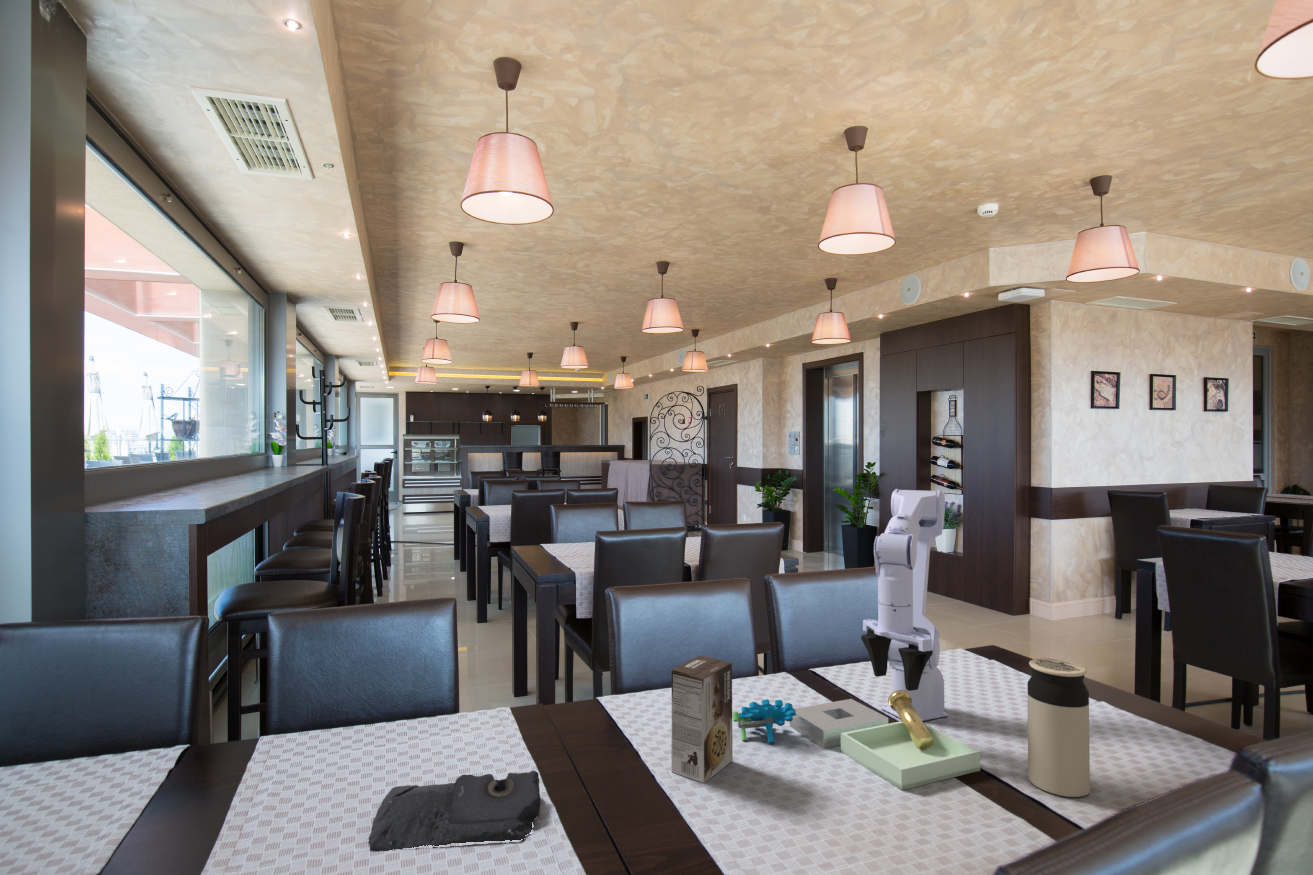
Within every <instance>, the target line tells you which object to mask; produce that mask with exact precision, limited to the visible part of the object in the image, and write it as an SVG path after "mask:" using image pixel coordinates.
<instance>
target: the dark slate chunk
mask: <svg viewBox="0 0 1313 875" xmlns="http://www.w3.org/2000/svg"><path fill="white" fill-rule="evenodd" d="M539 778H540V777H539V773H538V771H536V770H530V771H529V772H528V771H527V772H520V773H519V772H508V773H507V776H506V777H505V778H502V779H495V778H494V775H493V774H491V773H486V774H482V775H480V776H478V775H477V776H476V775H473V774H462V775H460V776H458V777H457V778H456V780H455V782H448V783H443V784H442V783H441V784H439V783H438V784H436V783H435V784H429V785H421V786H419V785H417V784H415V785H402V786H401V785H400V786H399V785H397V786H394V787H392V788H391V789H390V790H389V791H388V793H387V794H386V795H385V797H384V798H383V799H382V801H381V804H380V806H379V807H378V809H377V812H376V815H375V817H374V818H373V820H372V821H373V822H372V824H371V825H372V826H371V829H370V834H369V837H368V845H369V851H371V852H380V851H381V852H390V851H389V850H392V851H396V850H395V849H399V850H404V849H403V848H412V847H413V848H414V847H419V846H423V845H424V846H426V845H427V846H428V845H432V846H433V845H434V846H439V845H447V844H451V843H466V842H484V841H505V840H510V841H512V840H521V839H524V838H525V839H526V837H525V835H527V834H529V833H530V832H531V830H532V829H533V828H532V822H533V820H534V819H535V818H536V817H537V816H538V817H539V815H540V809H541V802H542V800H541V794H540V792H541V791H540V779H539ZM536 819H537V818H536ZM536 819H535V820H536ZM535 820H534V821H535ZM393 849H394V850H393Z"/></svg>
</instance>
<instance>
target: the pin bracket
mask: <svg viewBox="0 0 1313 875" xmlns="http://www.w3.org/2000/svg"><path fill="white" fill-rule="evenodd" d="M794 709H795V711H796V715H795V716H793V720H792V721H790V722H789V727H790V728H792V729H793V730H795V731H797V732H798V733H799V734H801V735H802V736H804V737H806V738H807V739H808V740H810V741H811V742H813V743H815V744H816V745H817V746H819V747H820V748H822V749H827V748H832V747H836V746H841V733H844V732H849V731H854V730H859V729H865V728H870V727H875V726H880V725H885V724H889V717H887V716H885V715H884V714H881V713H880V712H877V711H876V710H874V709H872V708H870V707H868V706H866V705H864V704H863V703H860V702H859V701H856V700H855V699H852V698H849V699H848V698H847V699H842V700H835V701H831V702H826V703H825V702H824V703H820V704H813V705H807V706H802V707H797V708H794Z"/></svg>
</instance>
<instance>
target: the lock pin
mask: <svg viewBox="0 0 1313 875" xmlns="http://www.w3.org/2000/svg"><path fill="white" fill-rule="evenodd" d="M887 703H888V705H890V707H891V708H892V709H893V710H894V711H896V712H897V713H898V715H899V717H900V718H899V717H898V718H899V719H900V721H902V722H903V724H904V726H905V728H906V729H907V731H908V733H909V735H910V736H911V738H912V740H913V742H914V744H915V745H916V747H917V748H918V749H920V750H925V749H928V748H930V747H931V746H932V744H933V738H932V737H931V735H930V733H929V732H928V730H927V728H926V727H925V725H924V724H925V723H924V721H922V720H921V718H920V717H919V715H918V714H917V712H916V710H915V709H914V707H913V705H912V704H911V703H912V698H911V696H910V695H909V693H908V692H907V691H905V690H897V691H895V692H893V693H892V694H891V693H890V694H889V696H888V698H887Z"/></svg>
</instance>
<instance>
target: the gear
mask: <svg viewBox="0 0 1313 875" xmlns="http://www.w3.org/2000/svg"><path fill="white" fill-rule="evenodd" d="M740 709H741V712H737V711H735V712H732V722H733V723H737V724H738V725H737V727H738V728H739V729H741V730H740V731H741V739H742V741H743V742H746V741H747V734H746V733H747V730H746V729H752V728H755V729H757V728H765V730H766V738H767V743H768V744H775V741H774V732H773V731H774V730H773V727H774V724H775V725H777V726H778V727H782V726H784V725H785V724H786V722H789V723H790V721H792V720H793V716H795V715H796V711H795V709H796V708H794V706H793V703H790V702H786V703H783V700H781V699H775V700H774V704H772V703H770V700H769V699H768V698H767V699H763V700H761V704H759V703H757V702H756V701H751V702H750V703H748V707H747V706H742V707H741V708H740ZM785 721H786V722H785Z"/></svg>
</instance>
